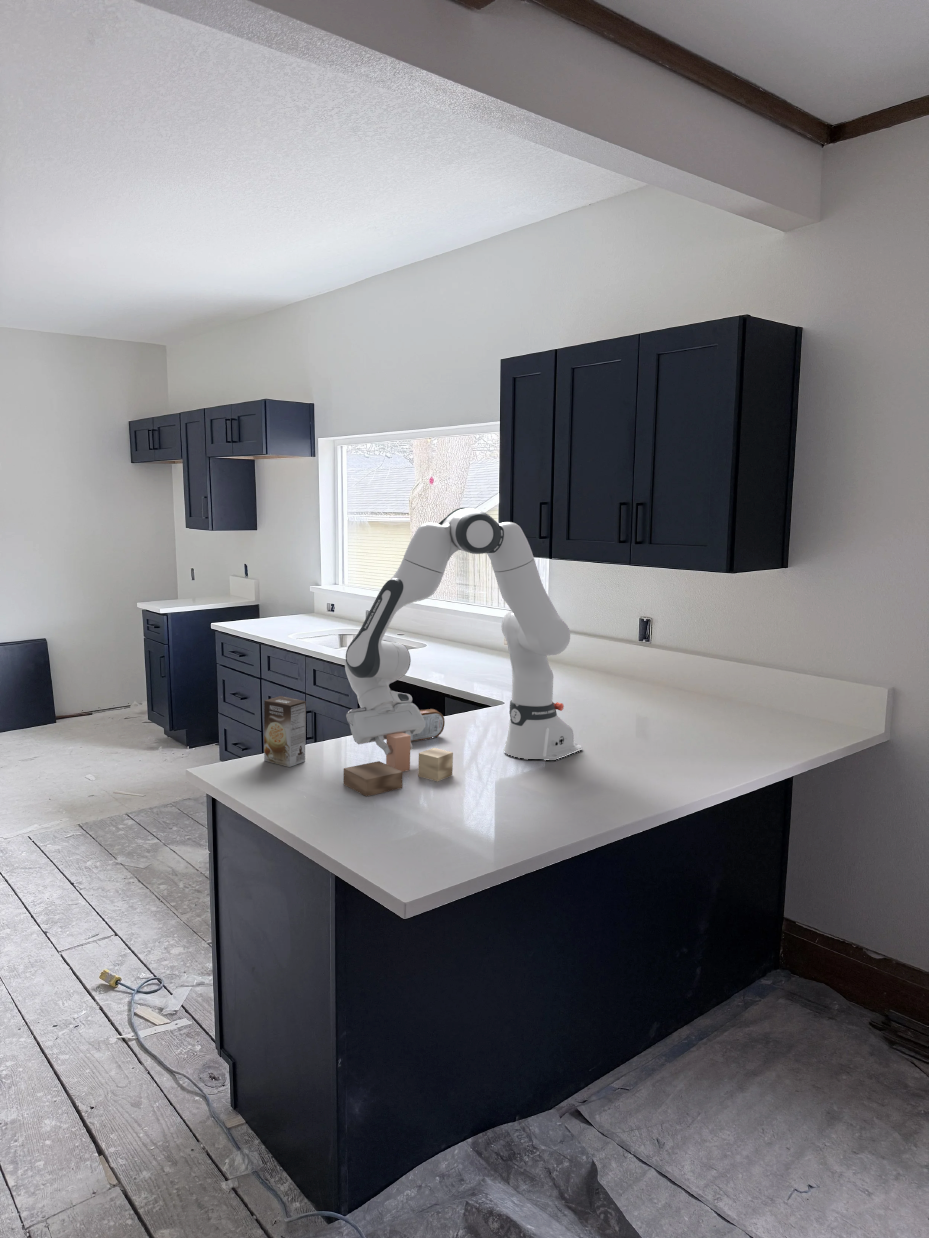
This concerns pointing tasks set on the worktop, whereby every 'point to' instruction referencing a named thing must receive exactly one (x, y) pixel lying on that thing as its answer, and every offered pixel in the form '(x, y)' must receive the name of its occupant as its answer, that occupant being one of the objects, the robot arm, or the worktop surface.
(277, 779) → the worktop surface
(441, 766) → the oak cube
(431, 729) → the tin
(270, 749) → the coffee box
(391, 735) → the terracotta block
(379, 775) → the walnut block
